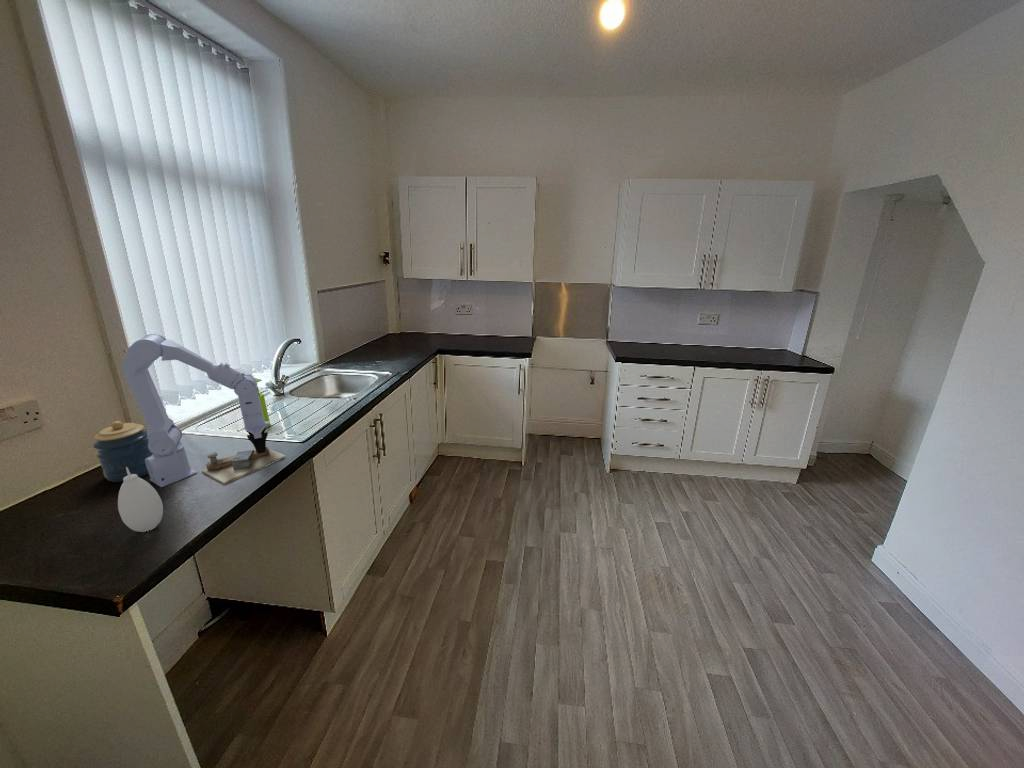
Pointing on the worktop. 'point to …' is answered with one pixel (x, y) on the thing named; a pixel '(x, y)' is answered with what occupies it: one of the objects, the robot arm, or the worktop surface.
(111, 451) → the canister
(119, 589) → the worktop surface
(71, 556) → the worktop surface
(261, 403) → the soap dispenser
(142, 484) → the air blower bulb
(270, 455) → the latch board
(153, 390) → the robot arm
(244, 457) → the keeper
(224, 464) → the link
